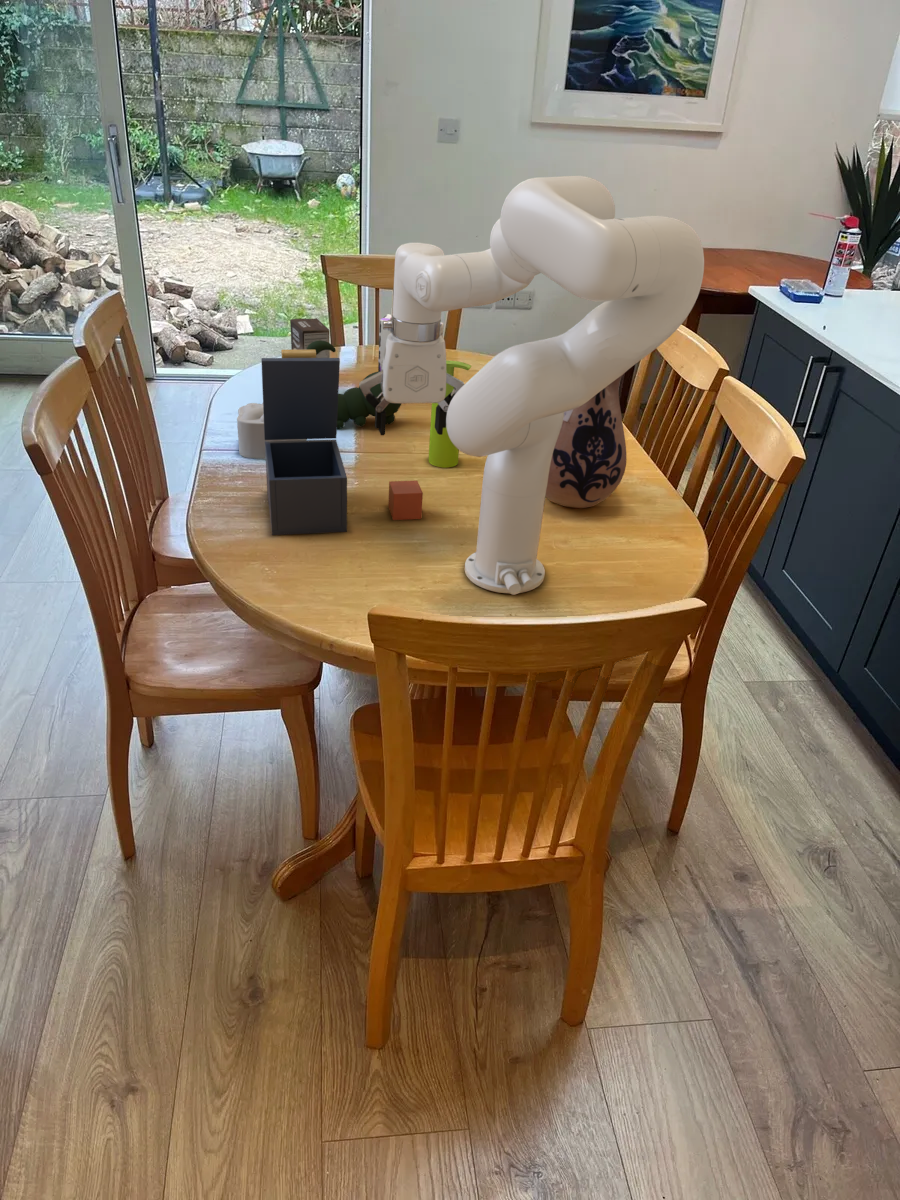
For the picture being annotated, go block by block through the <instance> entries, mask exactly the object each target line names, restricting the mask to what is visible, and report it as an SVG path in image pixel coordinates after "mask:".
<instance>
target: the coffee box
mask: <svg viewBox="0 0 900 1200" xmlns="http://www.w3.org/2000/svg"><path fill="white" fill-rule="evenodd" d="M289 321H290V322H289V323H290V347H291V348H290V350H307V347H308V345H309V344H310V343H312V342H314V341H319V340H322V341H326V342H329V343H330V344H331V341H330V340H331V339H330V334H331V333H330V332H331V331H330V329H329V328H328V327H327V326H326V325H325V324H324V323H323V322H322V321H320V319H319V318H317V317H315V318H292V319H290V320H289ZM330 353H331V351H330V350H323V351H321V352H320V353H318V354H317V355H316V358H331V357H330V356H331V355H330Z"/></svg>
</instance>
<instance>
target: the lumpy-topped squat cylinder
mask: <svg viewBox="0 0 900 1200" xmlns="http://www.w3.org/2000/svg"><path fill="white" fill-rule="evenodd" d="M237 409H238V410H237V412H238V413H237V414H238V416H237V417H236V423H237V424H236V426H237V439H238V441H237V442H238V453H239V456H241V457H243V458H247V459H254V460H255V459H257V460H258V459H259V460H260V459H261V460H266V457H265V441H298V440H308V439H289V440H265V438H264V414H263V402H262V403H257V402H249V403H246V404H245V405H241V406H240V407H239V408H237Z"/></svg>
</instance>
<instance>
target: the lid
mask: <svg viewBox="0 0 900 1200" xmlns="http://www.w3.org/2000/svg"><path fill="white" fill-rule="evenodd" d="M280 351H281V352H280V353H281V355H280V356H281V357H260V361H261V384H262V385H261V387H262V403H263V414H264V438H265V440H289V439H307V440H333V439H337V435H338V434H337V432H338V431H337V430H338V428H337V412H338V394H339V391H340V390H339V389H340V388H339V387H340V367H341V366H340V364H341V359H340V357H330V358H316V350H291V349H281V350H280Z"/></svg>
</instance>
